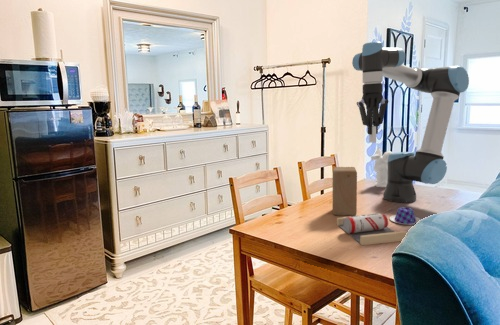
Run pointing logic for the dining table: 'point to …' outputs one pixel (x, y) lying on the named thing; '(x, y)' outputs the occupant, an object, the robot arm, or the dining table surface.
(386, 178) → the cherub figurine
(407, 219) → the pudding
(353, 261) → the dining table surface
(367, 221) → the beer can
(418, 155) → the robot arm
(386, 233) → the cradle
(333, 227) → the dining table surface
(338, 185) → the wooden block
